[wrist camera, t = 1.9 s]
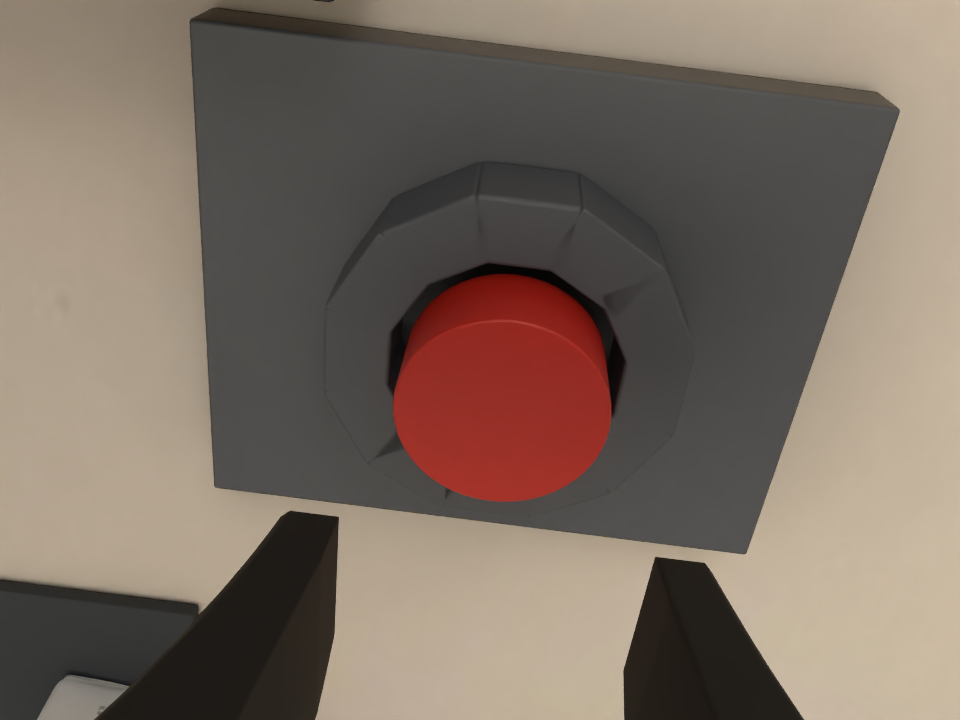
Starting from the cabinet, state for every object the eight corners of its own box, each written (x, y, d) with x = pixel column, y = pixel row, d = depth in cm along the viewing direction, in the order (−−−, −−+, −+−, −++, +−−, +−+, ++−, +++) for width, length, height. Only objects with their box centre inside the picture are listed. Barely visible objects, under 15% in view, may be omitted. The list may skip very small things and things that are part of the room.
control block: (229, 456, 21) (185, 543, 18) (210, 7, 16) (145, 39, 13) (736, 520, 21) (764, 616, 18) (879, 91, 16) (944, 140, 13)
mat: (-97, 789, 29) (-105, 801, 28) (-180, 556, 23) (-191, 567, 23) (214, 828, 29) (210, 840, 28) (198, 604, 23) (192, 615, 23)
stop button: (399, 432, 17) (386, 489, 16) (413, 259, 15) (399, 306, 14) (587, 455, 17) (591, 514, 16) (622, 286, 15) (631, 335, 14)
